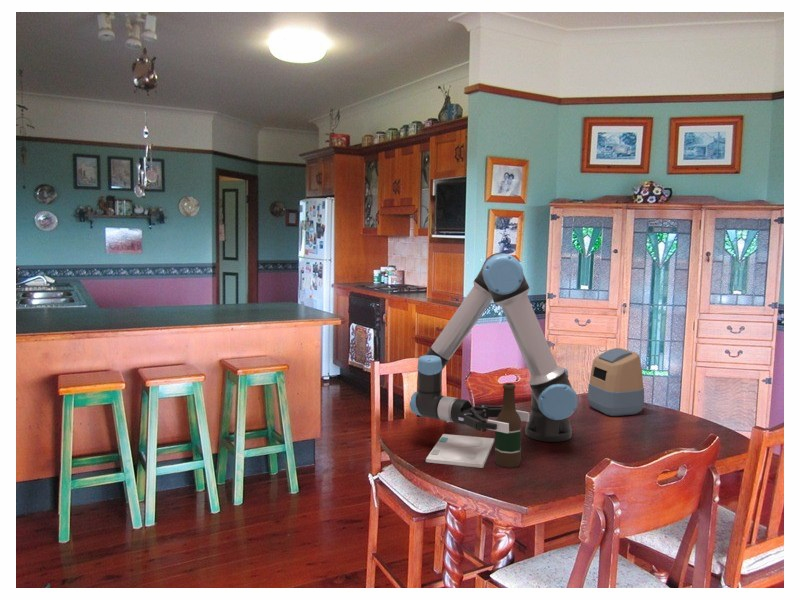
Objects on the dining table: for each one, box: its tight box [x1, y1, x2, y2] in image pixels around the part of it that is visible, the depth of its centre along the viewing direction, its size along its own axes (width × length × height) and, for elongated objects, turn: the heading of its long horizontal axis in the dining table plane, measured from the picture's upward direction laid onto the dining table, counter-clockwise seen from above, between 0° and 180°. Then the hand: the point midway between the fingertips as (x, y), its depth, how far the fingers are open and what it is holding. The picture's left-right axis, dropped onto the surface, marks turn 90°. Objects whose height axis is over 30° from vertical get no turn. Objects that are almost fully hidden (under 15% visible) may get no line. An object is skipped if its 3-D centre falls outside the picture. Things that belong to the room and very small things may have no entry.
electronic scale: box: [425, 433, 495, 469], centre depth 200 cm, size 17×24×1 cm
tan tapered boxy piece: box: [587, 347, 645, 417], centre depth 243 cm, size 17×17×23 cm
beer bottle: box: [494, 382, 522, 469], centre depth 189 cm, size 8×8×24 cm
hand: (519, 422), depth 187 cm, fingers open, 13 cm apart
